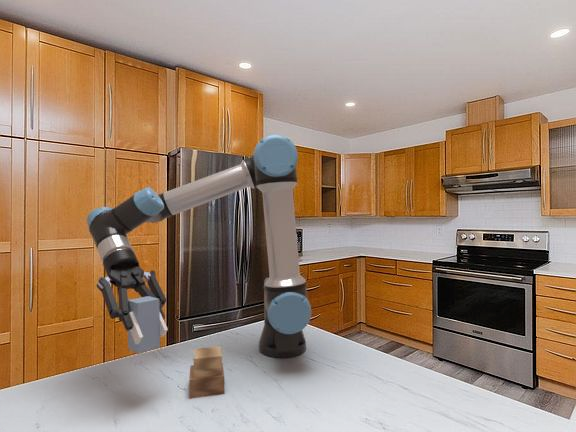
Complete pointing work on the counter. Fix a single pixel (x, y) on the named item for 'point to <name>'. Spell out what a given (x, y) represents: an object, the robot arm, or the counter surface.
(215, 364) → the tower top
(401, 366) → the counter surface
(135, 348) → the slate block
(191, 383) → the tower base
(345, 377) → the counter surface
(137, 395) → the counter surface
